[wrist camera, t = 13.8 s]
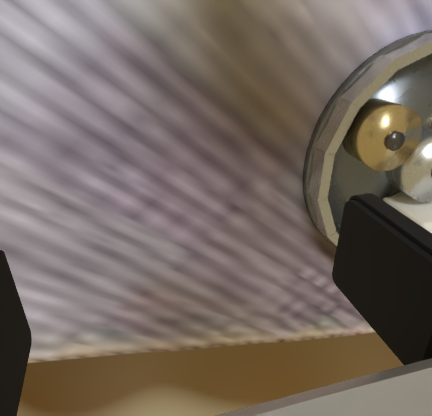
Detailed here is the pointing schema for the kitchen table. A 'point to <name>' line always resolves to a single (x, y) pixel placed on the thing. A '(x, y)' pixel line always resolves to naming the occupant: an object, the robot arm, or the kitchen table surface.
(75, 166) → the kitchen table surface
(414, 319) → the robot arm
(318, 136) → the carrier
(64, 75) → the kitchen table surface
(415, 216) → the medicine bottle
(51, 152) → the kitchen table surface
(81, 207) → the kitchen table surface
